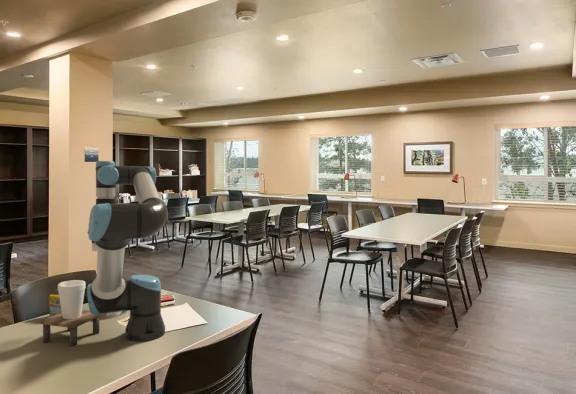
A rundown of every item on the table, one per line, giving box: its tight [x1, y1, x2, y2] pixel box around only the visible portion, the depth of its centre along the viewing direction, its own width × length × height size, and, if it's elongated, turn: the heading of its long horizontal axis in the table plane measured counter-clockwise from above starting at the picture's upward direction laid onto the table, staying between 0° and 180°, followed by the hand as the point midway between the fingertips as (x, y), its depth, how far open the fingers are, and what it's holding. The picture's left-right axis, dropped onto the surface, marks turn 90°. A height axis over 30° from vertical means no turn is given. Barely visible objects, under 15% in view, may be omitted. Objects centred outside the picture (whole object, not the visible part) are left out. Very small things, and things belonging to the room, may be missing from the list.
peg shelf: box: [39, 309, 102, 347], centre depth 161 cm, size 15×15×8 cm
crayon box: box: [48, 289, 62, 317], centre depth 182 cm, size 7×3×12 cm, turn 73°
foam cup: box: [57, 279, 87, 319], centre depth 160 cm, size 10×9×13 cm
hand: (105, 248), depth 175 cm, fingers open, 13 cm apart
